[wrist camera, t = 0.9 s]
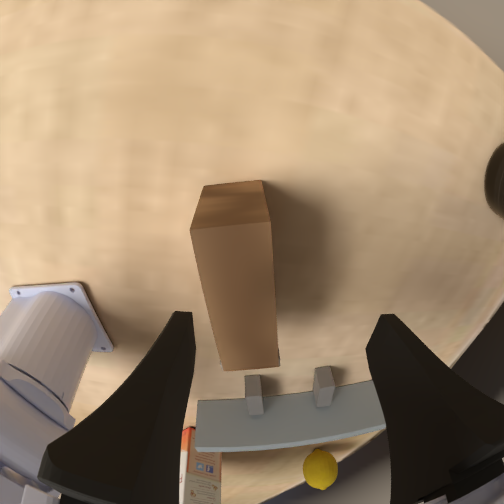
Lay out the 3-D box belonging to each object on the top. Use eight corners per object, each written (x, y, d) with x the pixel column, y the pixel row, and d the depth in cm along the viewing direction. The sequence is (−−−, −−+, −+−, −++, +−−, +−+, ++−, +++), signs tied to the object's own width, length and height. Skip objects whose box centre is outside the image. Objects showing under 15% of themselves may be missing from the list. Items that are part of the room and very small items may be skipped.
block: (224, 310, 23) (222, 372, 18) (202, 185, 18) (187, 230, 13) (271, 306, 23) (280, 367, 18) (262, 179, 18) (273, 221, 13)
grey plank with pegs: (200, 406, 31) (197, 451, 26) (187, 378, 28) (182, 430, 23) (370, 386, 31) (384, 428, 25) (382, 355, 27) (400, 402, 22)
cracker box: (186, 424, 33) (179, 569, 16) (223, 436, 36) (225, 570, 18) (143, 445, 39) (131, 555, 21) (174, 456, 41) (168, 561, 23)
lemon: (296, 455, 41) (301, 495, 35) (307, 443, 39) (313, 487, 32) (325, 453, 42) (332, 491, 35) (338, 441, 39) (347, 483, 33)
